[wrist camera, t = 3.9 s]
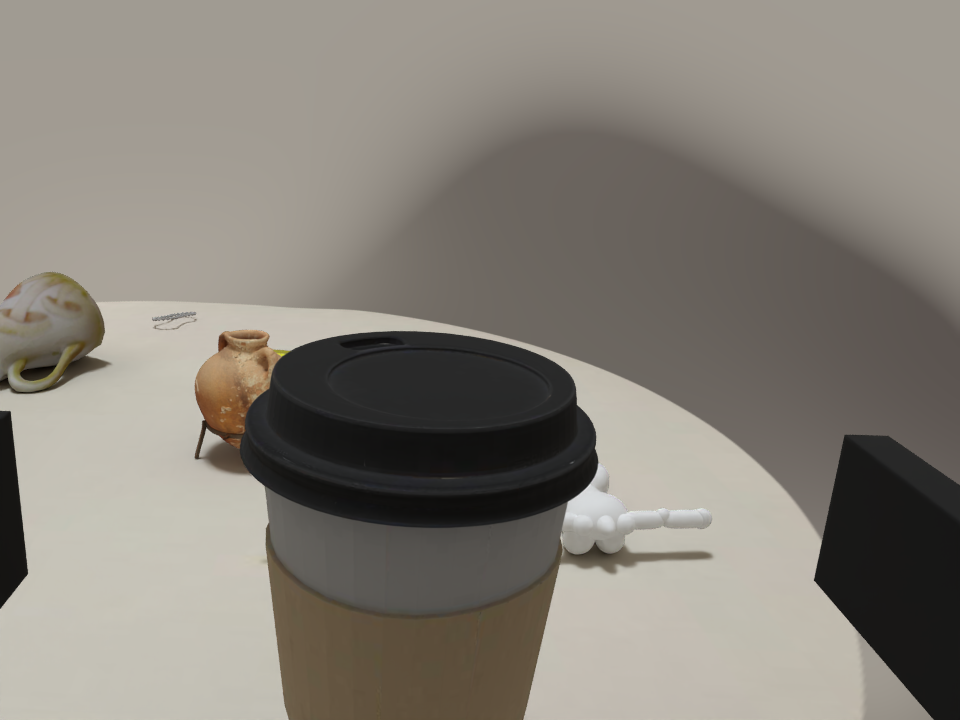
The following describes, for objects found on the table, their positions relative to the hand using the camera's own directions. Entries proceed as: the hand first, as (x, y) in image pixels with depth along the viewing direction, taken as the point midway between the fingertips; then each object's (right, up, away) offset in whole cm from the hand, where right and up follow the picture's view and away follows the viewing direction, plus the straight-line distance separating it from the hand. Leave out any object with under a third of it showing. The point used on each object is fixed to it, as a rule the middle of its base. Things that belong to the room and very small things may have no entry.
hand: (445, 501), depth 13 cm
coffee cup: (-2, -12, +13) cm, 18 cm away
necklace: (-28, +6, +65) cm, 71 cm away
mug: (-33, +1, +49) cm, 60 cm away
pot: (-14, -4, +38) cm, 41 cm away
